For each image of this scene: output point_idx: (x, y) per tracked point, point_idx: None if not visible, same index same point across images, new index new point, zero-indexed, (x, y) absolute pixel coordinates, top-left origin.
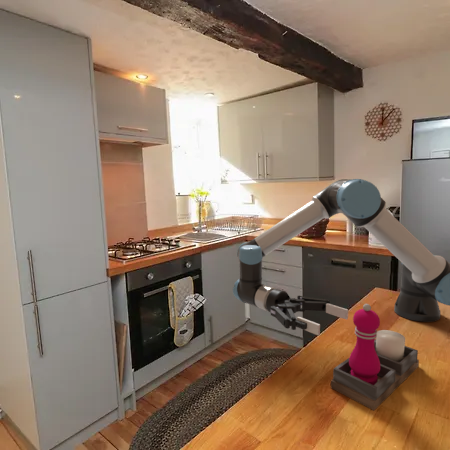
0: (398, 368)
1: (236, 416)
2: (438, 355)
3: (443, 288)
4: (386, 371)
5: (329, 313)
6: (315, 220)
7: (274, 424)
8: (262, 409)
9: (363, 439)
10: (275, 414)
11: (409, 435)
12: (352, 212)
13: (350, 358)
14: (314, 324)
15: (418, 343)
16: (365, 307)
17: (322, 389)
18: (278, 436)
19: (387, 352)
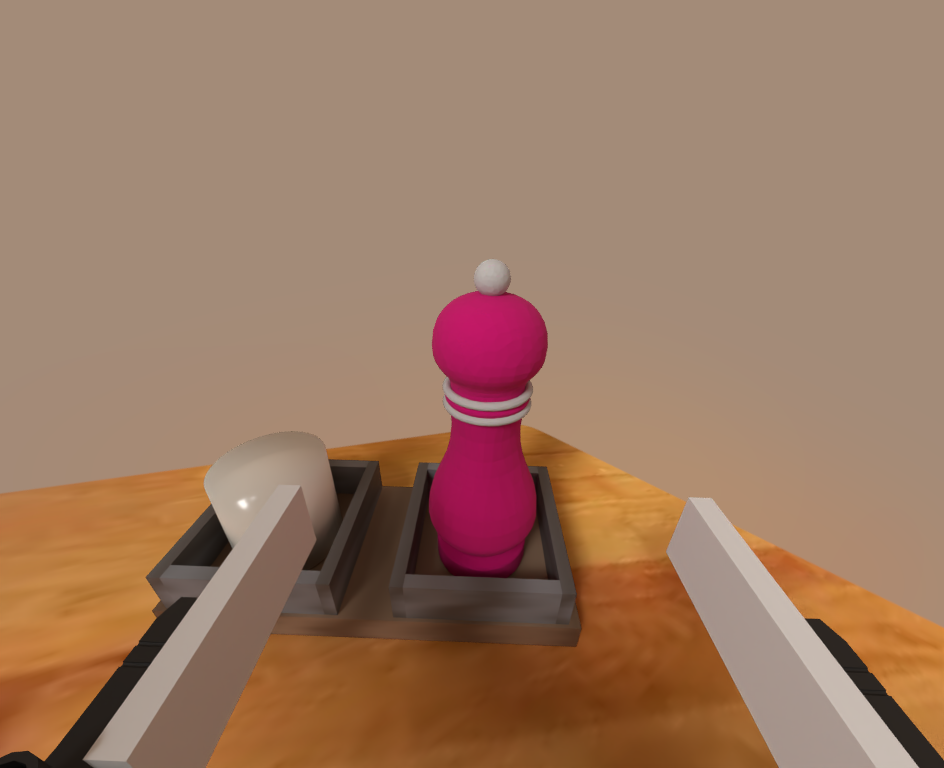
0: (377, 478)
1: None
2: (164, 481)
3: None
4: (426, 485)
5: (222, 729)
6: None
7: (923, 684)
8: None
9: (643, 492)
10: (915, 724)
11: (550, 451)
12: None
13: (522, 517)
14: (730, 529)
15: (57, 539)
16: (509, 273)
17: (614, 668)
18: (906, 633)
19: (334, 491)
